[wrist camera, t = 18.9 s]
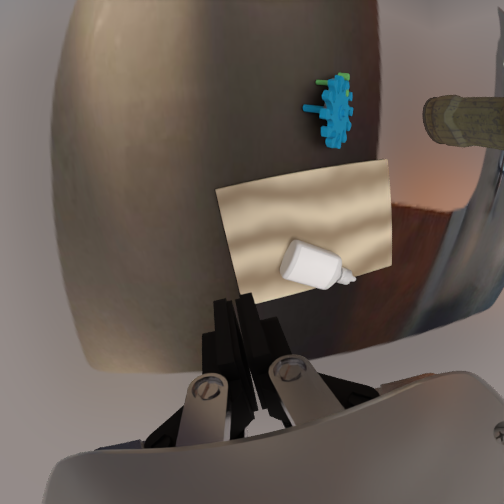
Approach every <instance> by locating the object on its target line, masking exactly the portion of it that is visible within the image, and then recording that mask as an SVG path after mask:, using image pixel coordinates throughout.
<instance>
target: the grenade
mask: <svg viewBox="0 0 504 504" xmlns="http://www.w3.org/2000/svg"><path fill="white" fill-rule="evenodd" d="M423 123H424V126H425V130H426V131H427V133H428V135H429V136H430V138H431V139H432V140H433V141H435V142H436V143H439V144H446V145H449V146H457V147H469V146H481V147H487V148H494V149H499V150H504V97H468V98H463V97H460V96H457V95H446V96H440V97H433V98H430V99H428V100H427V101H426V103H425V105H424V107H423Z"/></svg>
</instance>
